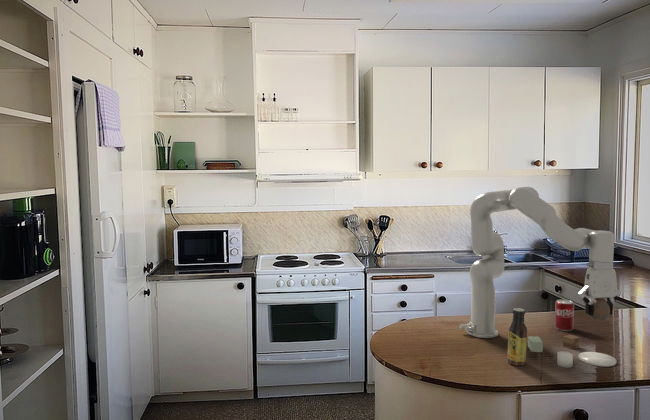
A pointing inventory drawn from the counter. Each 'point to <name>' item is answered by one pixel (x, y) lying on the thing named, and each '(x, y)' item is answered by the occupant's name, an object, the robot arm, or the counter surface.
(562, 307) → the soda can
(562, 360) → the plastic tub
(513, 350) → the sauce bottle
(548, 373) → the counter surface
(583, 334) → the counter surface
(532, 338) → the sage block
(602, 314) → the vase
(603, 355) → the disc
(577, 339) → the walnut block
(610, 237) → the robot arm
